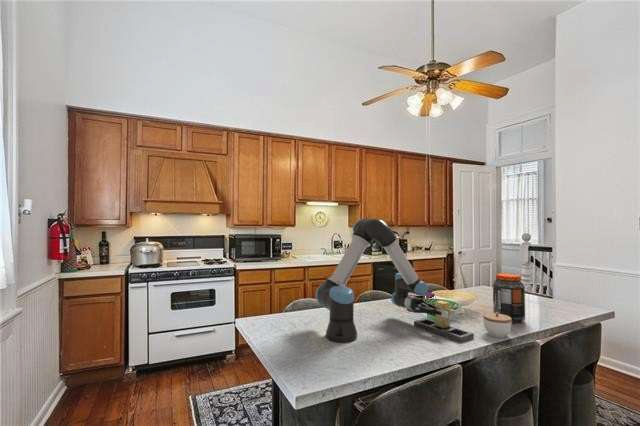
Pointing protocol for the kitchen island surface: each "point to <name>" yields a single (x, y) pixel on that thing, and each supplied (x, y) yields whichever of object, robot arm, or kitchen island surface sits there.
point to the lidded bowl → (497, 324)
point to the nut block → (441, 320)
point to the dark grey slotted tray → (444, 330)
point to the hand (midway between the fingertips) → (451, 314)
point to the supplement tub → (509, 296)
